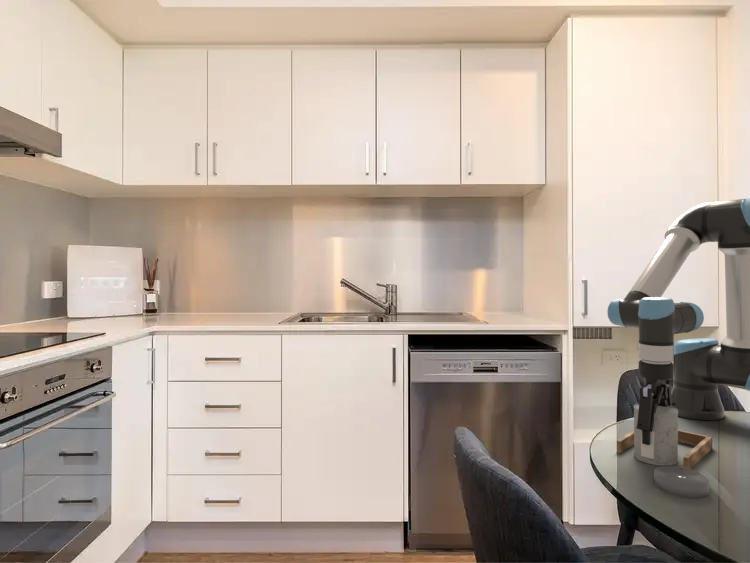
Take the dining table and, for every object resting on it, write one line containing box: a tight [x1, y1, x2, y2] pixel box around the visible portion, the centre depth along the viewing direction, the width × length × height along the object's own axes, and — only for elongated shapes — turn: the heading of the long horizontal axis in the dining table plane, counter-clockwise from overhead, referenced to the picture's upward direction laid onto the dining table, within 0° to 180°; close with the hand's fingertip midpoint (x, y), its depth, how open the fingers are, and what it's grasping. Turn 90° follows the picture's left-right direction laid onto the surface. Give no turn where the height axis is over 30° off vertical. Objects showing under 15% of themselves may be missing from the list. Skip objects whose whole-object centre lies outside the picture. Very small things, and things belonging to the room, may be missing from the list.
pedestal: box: [653, 465, 710, 499], centre depth 108 cm, size 10×10×2 cm
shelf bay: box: [616, 429, 713, 470], centre depth 128 cm, size 19×16×3 cm
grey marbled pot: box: [633, 402, 679, 466], centre depth 124 cm, size 10×10×12 cm
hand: (655, 451), depth 124 cm, fingers closed on grey marbled pot, 9 cm apart
